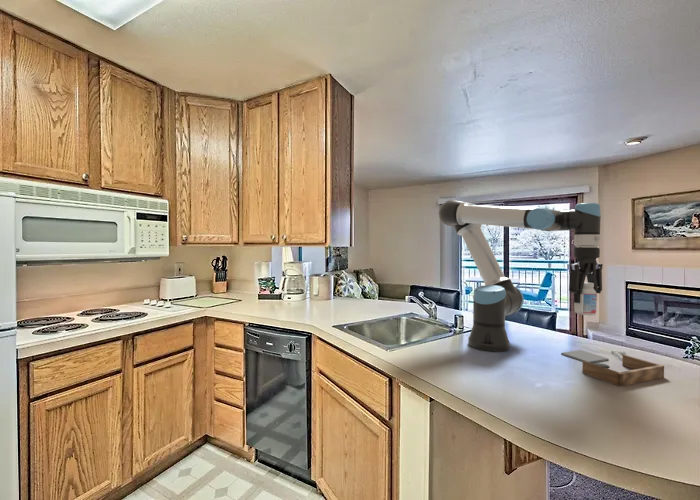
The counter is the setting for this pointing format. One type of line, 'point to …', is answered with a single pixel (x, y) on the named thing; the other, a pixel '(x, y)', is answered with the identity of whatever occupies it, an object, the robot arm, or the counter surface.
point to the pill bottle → (588, 299)
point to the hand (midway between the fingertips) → (585, 311)
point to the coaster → (585, 356)
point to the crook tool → (619, 354)
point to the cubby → (640, 374)
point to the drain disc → (602, 365)
